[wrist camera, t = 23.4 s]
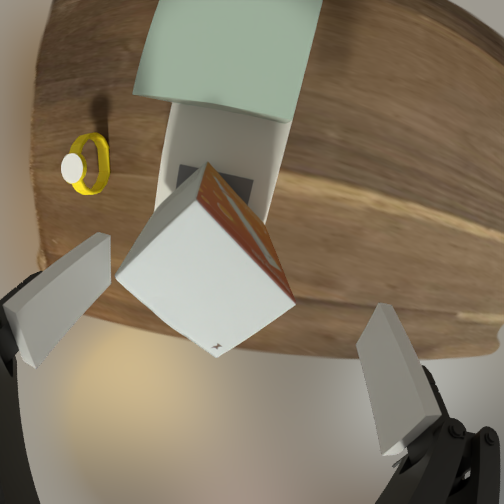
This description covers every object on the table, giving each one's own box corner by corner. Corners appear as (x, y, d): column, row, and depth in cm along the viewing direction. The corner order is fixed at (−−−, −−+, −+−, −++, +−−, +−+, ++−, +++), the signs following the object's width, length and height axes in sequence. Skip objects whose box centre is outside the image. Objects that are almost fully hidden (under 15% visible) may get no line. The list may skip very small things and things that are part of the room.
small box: (265, 222, 27) (300, 306, 15) (215, 262, 28) (216, 362, 17) (207, 158, 24) (195, 197, 12) (156, 204, 25) (110, 280, 13)
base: (316, 26, 19) (317, 24, 18) (249, 279, 30) (249, 282, 29) (199, 7, 19) (198, 5, 18) (151, 255, 30) (149, 257, 29)
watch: (94, 134, 25) (59, 135, 19) (115, 131, 25) (82, 130, 19) (96, 189, 27) (62, 200, 21) (116, 188, 27) (84, 199, 21)
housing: (309, 27, 19) (326, -15, 11) (285, 124, 23) (292, 120, 15) (202, 10, 18) (172, -33, 10) (176, 103, 23) (132, 94, 14)
